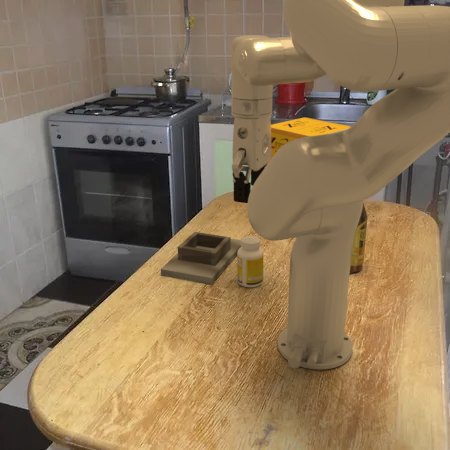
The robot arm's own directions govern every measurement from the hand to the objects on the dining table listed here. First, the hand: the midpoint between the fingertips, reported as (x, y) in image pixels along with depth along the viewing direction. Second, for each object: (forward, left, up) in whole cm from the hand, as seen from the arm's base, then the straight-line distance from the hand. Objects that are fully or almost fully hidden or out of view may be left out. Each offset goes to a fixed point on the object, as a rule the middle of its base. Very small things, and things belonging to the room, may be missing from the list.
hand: (250, 193), depth 108 cm
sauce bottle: (+14, -18, -20) cm, 30 cm away
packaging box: (+38, -2, -20) cm, 43 cm away
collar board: (+6, +13, -20) cm, 24 cm away
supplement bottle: (0, 0, -20) cm, 20 cm away
